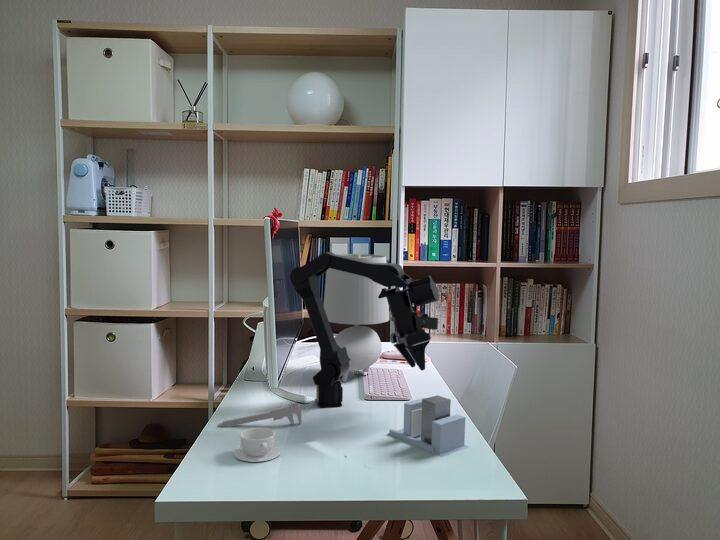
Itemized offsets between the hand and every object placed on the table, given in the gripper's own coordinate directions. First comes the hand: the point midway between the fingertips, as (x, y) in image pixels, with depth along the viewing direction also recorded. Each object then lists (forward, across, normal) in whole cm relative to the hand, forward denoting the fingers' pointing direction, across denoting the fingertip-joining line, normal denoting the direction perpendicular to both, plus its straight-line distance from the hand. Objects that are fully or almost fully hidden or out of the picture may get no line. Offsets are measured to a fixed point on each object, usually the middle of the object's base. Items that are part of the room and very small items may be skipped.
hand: (418, 368), depth 153 cm
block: (+14, -20, +6) cm, 25 cm away
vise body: (+14, -18, +7) cm, 24 cm away
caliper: (+2, 0, +43) cm, 43 cm away
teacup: (+4, -17, +44) cm, 47 cm away
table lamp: (+3, +42, +11) cm, 43 cm away
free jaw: (+12, -15, +8) cm, 21 cm away
